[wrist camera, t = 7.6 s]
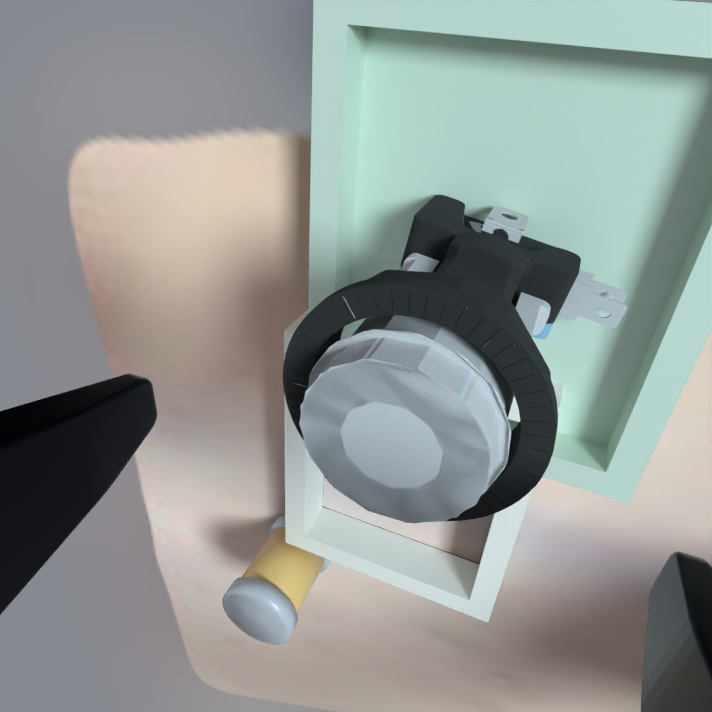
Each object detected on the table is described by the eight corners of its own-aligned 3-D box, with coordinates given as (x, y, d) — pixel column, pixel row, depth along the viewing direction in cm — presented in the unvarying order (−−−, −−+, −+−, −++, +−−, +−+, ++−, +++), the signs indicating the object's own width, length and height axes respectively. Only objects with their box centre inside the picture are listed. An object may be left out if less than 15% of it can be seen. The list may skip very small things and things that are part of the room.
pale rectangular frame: (565, 375, 19) (559, 407, 18) (494, 591, 26) (486, 628, 25) (307, 309, 22) (283, 331, 21) (304, 518, 29) (285, 547, 28)
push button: (667, 216, 15) (712, 434, 7) (581, 367, 18) (549, 632, 11) (441, 142, 17) (275, 259, 9) (396, 294, 20) (245, 481, 12)
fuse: (335, 527, 28) (289, 610, 25) (333, 571, 30) (289, 654, 27) (273, 504, 30) (219, 579, 26) (275, 548, 31) (225, 624, 28)
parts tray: (831, 13, 13) (861, 13, 11) (628, 465, 20) (628, 503, 19) (344, -21, 16) (313, -24, 14) (327, 376, 24) (306, 402, 22)
